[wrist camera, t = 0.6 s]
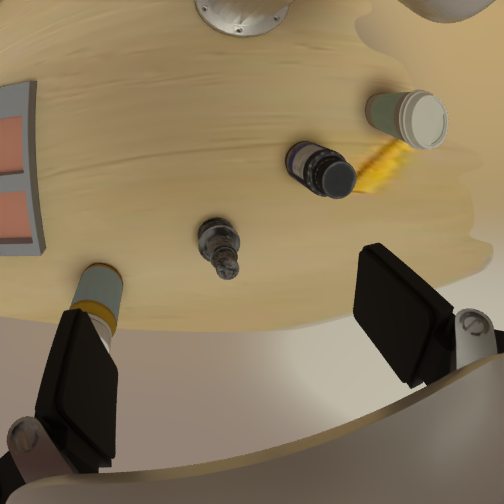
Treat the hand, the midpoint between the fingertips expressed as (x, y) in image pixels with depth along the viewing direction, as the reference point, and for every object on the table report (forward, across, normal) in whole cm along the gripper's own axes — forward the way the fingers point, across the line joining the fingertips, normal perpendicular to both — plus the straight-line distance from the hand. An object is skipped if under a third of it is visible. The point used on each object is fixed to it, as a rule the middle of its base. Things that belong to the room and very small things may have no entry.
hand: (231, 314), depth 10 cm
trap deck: (+34, +30, -5) cm, 46 cm away
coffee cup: (+34, -30, -3) cm, 46 cm away
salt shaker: (+34, -2, +14) cm, 37 cm away
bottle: (+34, +17, +17) cm, 42 cm away
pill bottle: (+34, -17, +4) cm, 39 cm away
